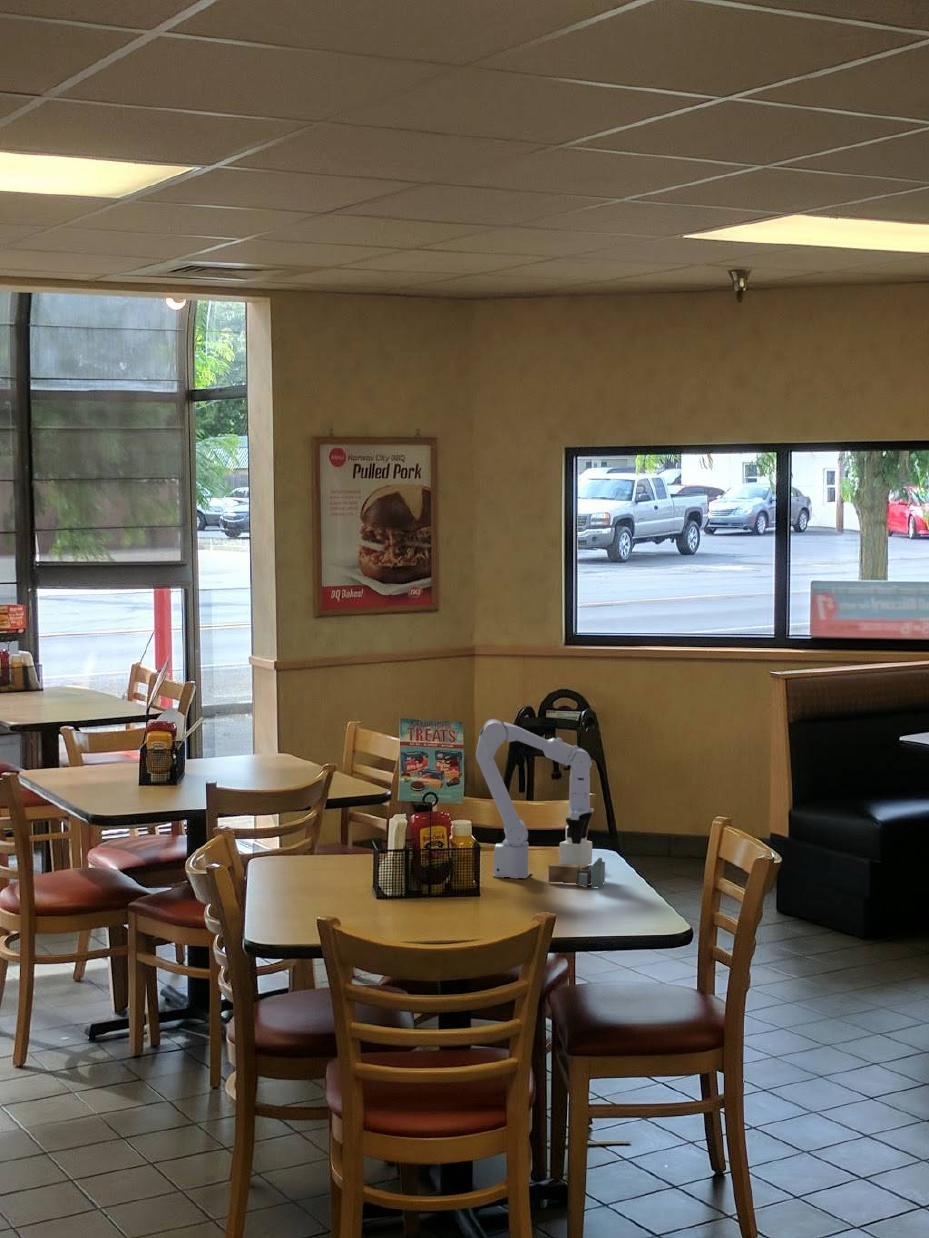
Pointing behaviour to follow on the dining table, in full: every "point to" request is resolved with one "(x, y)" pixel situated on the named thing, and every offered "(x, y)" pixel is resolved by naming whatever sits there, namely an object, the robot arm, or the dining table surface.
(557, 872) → the rail
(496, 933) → the dining table surface
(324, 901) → the dining table surface
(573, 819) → the robot arm
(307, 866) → the dining table surface
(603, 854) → the dining table surface
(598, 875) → the grey boxy pieces
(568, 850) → the medicine bottle
